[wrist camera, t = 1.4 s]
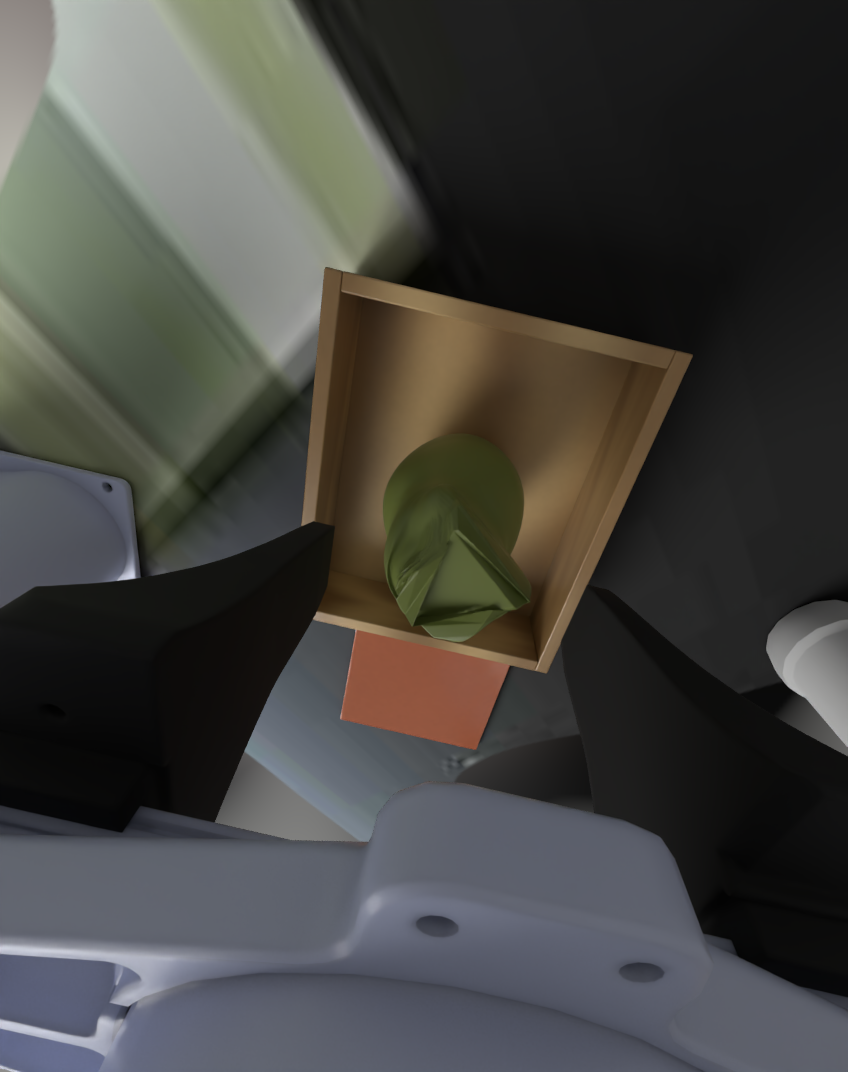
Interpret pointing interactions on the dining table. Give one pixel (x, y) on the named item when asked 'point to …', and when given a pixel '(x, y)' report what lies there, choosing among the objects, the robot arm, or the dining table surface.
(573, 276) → the dining table surface
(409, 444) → the wooden shallow box
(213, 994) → the robot arm
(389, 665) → the coaster
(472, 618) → the pear
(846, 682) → the bottle
